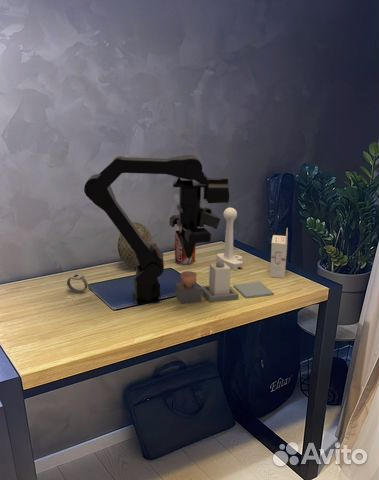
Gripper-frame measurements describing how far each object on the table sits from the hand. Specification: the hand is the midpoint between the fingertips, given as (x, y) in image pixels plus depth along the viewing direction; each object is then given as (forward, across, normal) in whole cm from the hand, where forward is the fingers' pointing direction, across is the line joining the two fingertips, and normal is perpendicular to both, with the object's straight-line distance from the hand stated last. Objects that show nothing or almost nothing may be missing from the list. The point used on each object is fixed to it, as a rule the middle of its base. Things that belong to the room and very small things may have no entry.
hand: (188, 257), depth 137 cm
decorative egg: (+13, +30, +8) cm, 34 cm away
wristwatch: (+13, +14, +29) cm, 35 cm away
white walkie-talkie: (+13, +11, -35) cm, 38 cm away
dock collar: (+12, 0, -10) cm, 16 cm away
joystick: (+13, +23, -24) cm, 35 cm away
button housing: (+12, 0, 0) cm, 13 cm away
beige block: (+12, 0, -10) cm, 16 cm away
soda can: (+13, +29, -9) cm, 33 cm away
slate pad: (+12, 0, -21) cm, 24 cm away
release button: (+9, 0, 0) cm, 9 cm away
